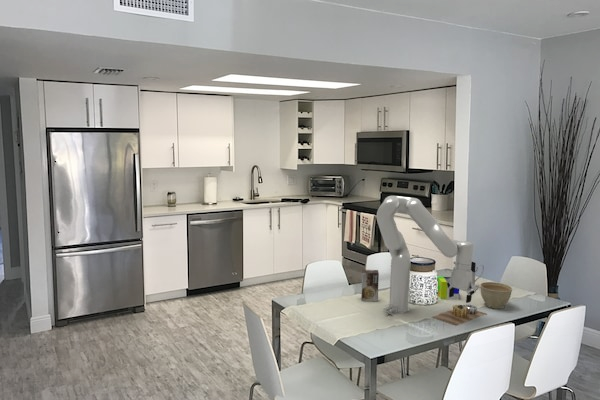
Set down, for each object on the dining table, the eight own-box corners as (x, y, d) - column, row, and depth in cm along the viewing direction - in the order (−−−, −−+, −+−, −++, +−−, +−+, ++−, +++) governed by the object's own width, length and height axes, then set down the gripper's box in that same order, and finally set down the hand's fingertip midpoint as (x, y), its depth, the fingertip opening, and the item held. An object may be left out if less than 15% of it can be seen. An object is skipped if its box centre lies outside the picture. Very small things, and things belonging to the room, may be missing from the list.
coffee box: (377, 297, 284) (378, 269, 282) (378, 301, 278) (379, 273, 276) (361, 297, 285) (362, 269, 283) (361, 300, 279) (362, 272, 276)
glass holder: (457, 284, 311) (458, 261, 309) (478, 284, 314) (480, 260, 312) (464, 289, 303) (466, 264, 301) (486, 288, 305) (487, 264, 303)
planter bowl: (482, 310, 268) (483, 290, 266) (476, 300, 284) (477, 281, 282) (514, 312, 265) (515, 291, 264) (506, 301, 281) (507, 282, 280)
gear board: (455, 328, 241) (456, 315, 240) (431, 320, 252) (431, 307, 251) (486, 316, 258) (487, 304, 257) (462, 308, 269) (462, 296, 268)
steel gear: (471, 314, 255) (472, 309, 255) (459, 310, 261) (459, 305, 261) (479, 311, 260) (480, 306, 260) (467, 307, 266) (467, 302, 265)
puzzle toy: (458, 299, 284) (459, 282, 283) (440, 299, 284) (441, 281, 283) (453, 293, 294) (454, 277, 293) (436, 293, 294) (437, 276, 293)
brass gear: (462, 318, 251) (462, 310, 250) (449, 314, 256) (449, 306, 256) (470, 315, 255) (470, 307, 255) (457, 311, 261) (458, 303, 260)
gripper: (443, 263, 256) (440, 295, 259) (474, 271, 243) (470, 306, 246) (452, 261, 261) (449, 293, 263) (483, 269, 248) (479, 303, 250)
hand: (459, 299), depth 255 cm, fingers open, 9 cm apart
